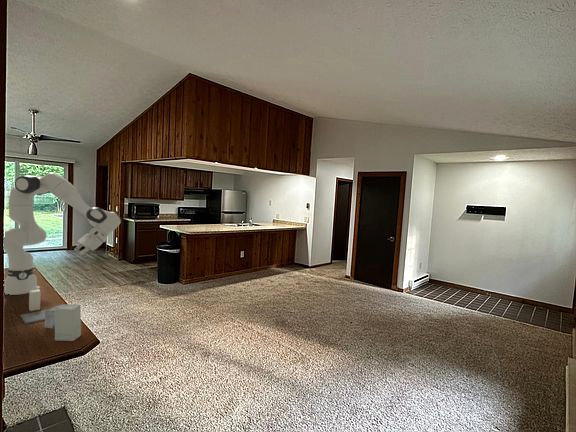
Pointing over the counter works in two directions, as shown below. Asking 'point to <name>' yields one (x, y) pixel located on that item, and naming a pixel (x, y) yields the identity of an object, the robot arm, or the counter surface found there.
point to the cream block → (34, 299)
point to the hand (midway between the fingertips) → (77, 252)
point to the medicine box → (50, 318)
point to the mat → (33, 317)
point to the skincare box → (67, 322)
